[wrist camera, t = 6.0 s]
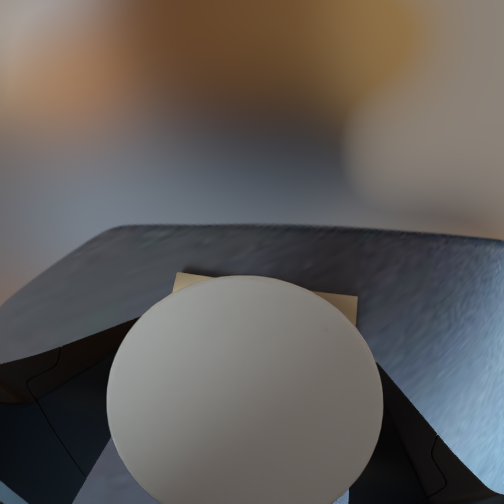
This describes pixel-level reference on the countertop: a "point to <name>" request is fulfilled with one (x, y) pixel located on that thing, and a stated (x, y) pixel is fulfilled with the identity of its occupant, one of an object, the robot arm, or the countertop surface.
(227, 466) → the pill bottle
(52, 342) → the countertop surface
